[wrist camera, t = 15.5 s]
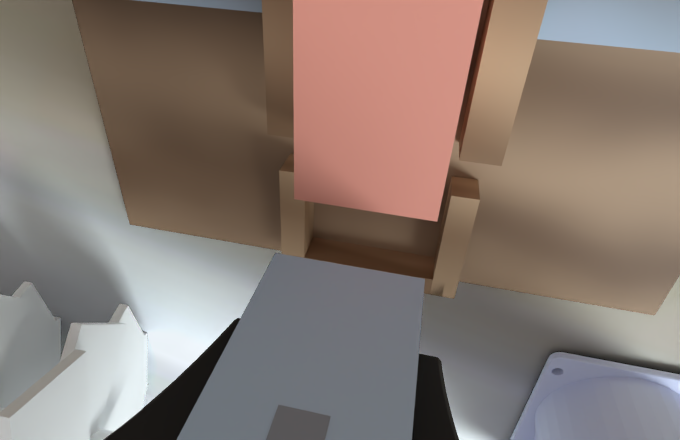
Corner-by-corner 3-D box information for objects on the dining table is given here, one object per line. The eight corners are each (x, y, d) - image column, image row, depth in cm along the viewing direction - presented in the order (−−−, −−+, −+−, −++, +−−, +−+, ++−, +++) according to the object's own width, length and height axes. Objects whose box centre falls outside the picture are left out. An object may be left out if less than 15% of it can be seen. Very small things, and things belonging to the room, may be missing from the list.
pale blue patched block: (404, 377, 14) (380, 596, 9) (279, 351, 15) (201, 546, 10) (424, 278, 12) (406, 504, 7) (275, 252, 12) (171, 447, 8)
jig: (649, 305, 20) (668, 342, 18) (136, 217, 23) (111, 242, 21) (1130, -494, 8) (1306, -599, 7) (-22, -431, 12) (-104, -489, 10)
